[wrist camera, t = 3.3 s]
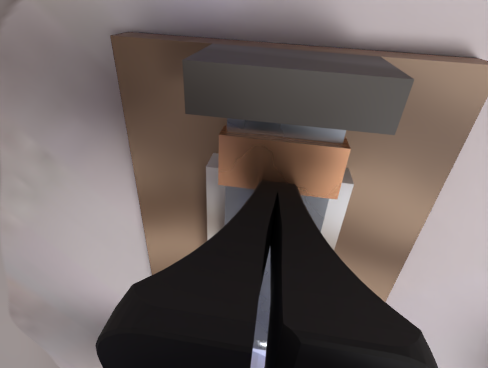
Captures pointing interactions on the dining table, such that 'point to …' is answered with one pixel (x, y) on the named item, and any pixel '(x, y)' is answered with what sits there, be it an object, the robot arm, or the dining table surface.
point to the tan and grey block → (279, 176)
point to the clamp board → (303, 114)
